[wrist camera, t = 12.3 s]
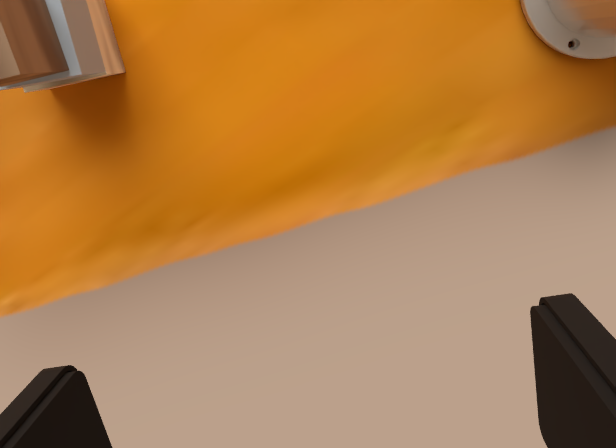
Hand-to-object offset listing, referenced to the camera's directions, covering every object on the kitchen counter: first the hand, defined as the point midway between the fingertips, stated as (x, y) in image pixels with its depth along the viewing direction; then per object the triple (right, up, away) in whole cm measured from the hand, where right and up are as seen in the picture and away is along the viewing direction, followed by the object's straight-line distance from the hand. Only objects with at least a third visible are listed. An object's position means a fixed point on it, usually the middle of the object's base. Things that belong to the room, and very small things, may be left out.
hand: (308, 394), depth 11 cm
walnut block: (-20, +16, +26) cm, 37 cm away
